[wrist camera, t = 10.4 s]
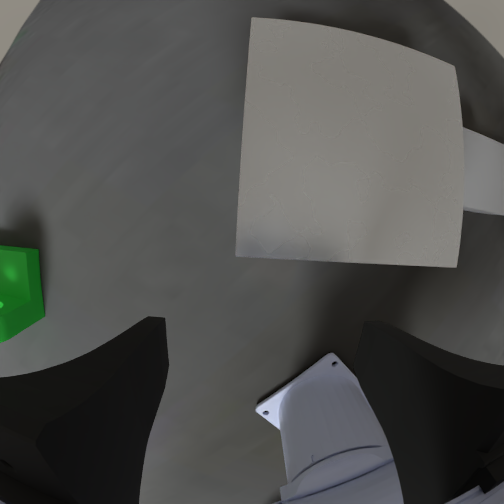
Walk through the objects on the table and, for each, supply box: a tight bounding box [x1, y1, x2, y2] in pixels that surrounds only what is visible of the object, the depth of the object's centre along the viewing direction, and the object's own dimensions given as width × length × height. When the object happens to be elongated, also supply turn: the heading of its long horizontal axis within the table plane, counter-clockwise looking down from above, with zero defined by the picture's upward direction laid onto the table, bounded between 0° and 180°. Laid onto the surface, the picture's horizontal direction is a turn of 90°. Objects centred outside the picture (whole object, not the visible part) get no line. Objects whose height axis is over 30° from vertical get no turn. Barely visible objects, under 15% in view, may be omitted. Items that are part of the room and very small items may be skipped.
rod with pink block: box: [463, 127, 504, 216], centre depth 15 cm, size 7×19×5 cm, turn 87°
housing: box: [235, 17, 464, 268], centre depth 16 cm, size 12×12×7 cm
